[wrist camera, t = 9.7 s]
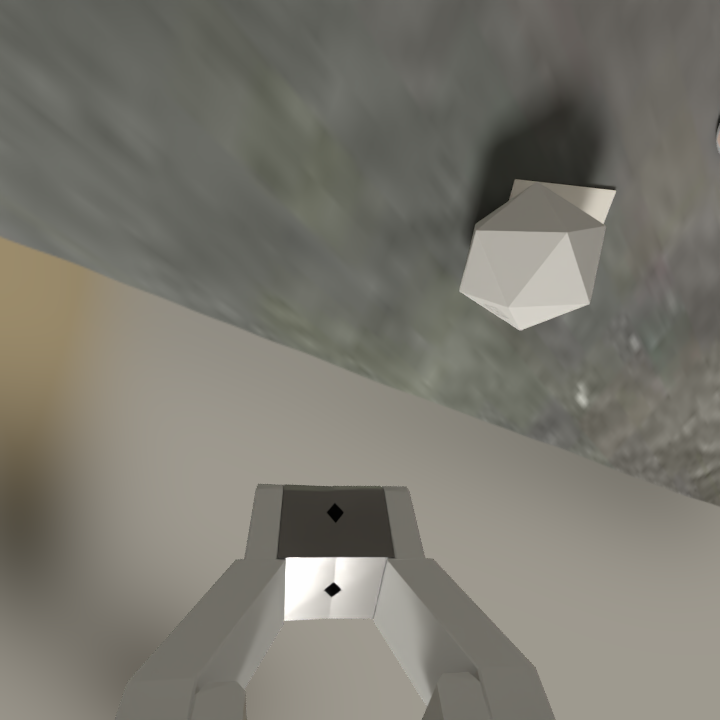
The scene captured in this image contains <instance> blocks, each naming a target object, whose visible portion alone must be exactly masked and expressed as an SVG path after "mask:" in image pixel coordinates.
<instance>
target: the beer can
mask: <svg viewBox="0 0 720 720" xmlns="http://www.w3.org/2000/svg"><path fill="white" fill-rule="evenodd" d="M716 144H717V149H718V152H719V154H720V124H719V126H718V129H717V136H716Z"/></svg>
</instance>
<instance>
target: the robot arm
mask: <svg viewBox="0 0 720 720" xmlns="http://www.w3.org/2000/svg"><path fill="white" fill-rule="evenodd" d="M325 618H326V619H328V618H336V619H338V618H340V619H343V618H344V619H374V623H375V625H376V626H377V628H378V629H379V631H380V633H381V634H382V636H383V637H384V639H385V641H386V642H387V644H388V645H389V647H390V649H391V650H392V652H393V653H394V655H395V657H396V658H397V660H398V662H399V663H400V665H401V666H402V668H403V670H404V671H405V673H406V674H407V676H408V677H409V679H410V681H411V682H412V684H413V685H414V687H415V689H416V690H417V692H418V694H419V695H420V697H421V698H422V700H423V702H424V703H425V704H426V706H427V708H426V711H425V713H424V715H423V718H422V720H555V717H554V714H553V712H552V709H551V707H550V704H549V702H548V699H547V696H546V693H545V691H544V688H543V686H542V683H541V681H540V678H539V675H538V673H537V670H536V667H534V665H533V664H532V663H531V662H530V661H529V660H528V659H527V658H526V657H525V656H524V655H523V654H522V653H521V652H520V650H519V649H518V648H517V647H516V646H515V645H514V644H513V643H512V642H511V641H510V640H509V639H508V638H507V637H506V636H505V635H504V634H503V632H501V630H500V629H499V628H498V627H497V626H496V625H495V624H494V623H493V622H492V621H491V620H490V619H489V618H488V617H487V615H486V614H485V613H484V612H483V611H482V610H481V609H480V608H479V607H478V606H477V605H476V604H475V603H474V602H473V601H472V600H471V598H469V597H468V595H467V594H466V593H465V592H464V591H463V590H462V589H461V588H460V587H459V586H458V585H457V584H456V583H455V582H454V580H453V579H451V577H450V576H449V575H448V574H447V573H446V572H445V571H444V570H443V569H442V568H441V567H440V566H439V565H438V563H437V562H436V561H435V560H434V559H428V558H425V555H424V551H423V547H422V542H421V538H420V535H419V530H418V526H417V521H416V517H415V513H414V509H413V505H412V501H411V497H410V492H409V490H408V488H407V487H391V486H382V487H381V486H333V487H331V486H306V485H272V484H258V486H257V488H256V491H255V498H254V503H253V509H252V516H251V522H250V528H249V534H248V540H247V546H246V552H245V558H244V559H240V560H235V561H234V563H233V564H232V565H231V566H230V567H229V568H228V569H227V570H226V572H225V573H224V574H223V575H222V576H221V577H220V578H219V579H218V581H217V582H216V583H215V584H214V585H213V586H212V587H211V588H210V590H209V591H208V592H207V593H206V594H205V595H204V596H203V597H202V599H201V600H200V601H199V602H198V603H197V604H196V605H195V606H194V608H193V609H192V610H191V611H190V612H189V613H188V614H187V616H186V617H185V618H184V619H183V620H182V621H181V622H180V623H179V625H178V626H177V627H176V628H175V629H174V630H173V631H172V633H171V634H170V635H169V636H168V637H167V638H166V639H165V641H163V643H162V644H161V645H160V646H159V647H158V648H157V649H156V650H155V652H154V653H153V654H152V655H151V656H150V657H149V658H148V659H147V661H146V662H145V663H144V664H143V665H142V666H141V667H140V668H139V670H138V671H137V672H136V673H135V674H134V675H133V676H132V678H131V679H130V680H129V681H128V682H127V685H126V688H125V691H124V694H123V697H122V700H121V703H120V706H119V708H118V711H117V715H116V717H115V720H247V711H246V691H245V690H244V689H245V688H246V686H247V684H248V683H249V681H250V679H251V677H252V676H253V674H254V673H255V671H256V669H257V668H258V666H259V664H260V663H261V661H262V659H263V658H264V656H265V654H266V653H267V651H268V649H269V647H270V646H271V644H272V643H273V641H274V639H275V637H276V636H277V634H278V633H279V631H280V629H281V628H282V626H283V624H284V621H287V620H308V619H325Z"/></svg>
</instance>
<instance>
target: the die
mask: <svg viewBox="0 0 720 720" xmlns="http://www.w3.org/2000/svg"><path fill="white" fill-rule="evenodd" d="M605 229H606V225H604V224H603V223H601V222H599V221H598V220H596V219H595V218H593V217H592V216H590V215H589V214H587V213H586V212H584V211H582V210H581V209H579V208H578V207H576V206H575V205H573V204H572V203H570V202H568V201H567V200H565V199H564V198H562V197H561V196H559V195H558V194H556V193H554V192H553V191H551V190H550V189H548V188H547V187H545V186H544V185H542V184H541V183H539V182H536V183H534V184H533V185H531V186H530V187H528V188H527V189H525V190H524V191H522V192H521V193H520V194H518V195H517V196H515V197H514V198H512V199H511V200H509V201H508V202H506V203H505V204H504V205H502V206H501V207H499V208H498V209H496V210H495V211H493V212H492V213H490V214H489V215H488V216H486V217H485V218H483V219H482V220H480V221H479V222H477V223H476V224H475V228H474V232H473V236H472V240H471V244H470V248H469V252H468V257H467V261H466V265H465V269H464V273H463V277H462V281H461V285H460V290H459V292H461V293H463V294H464V295H466V296H467V297H469V298H470V299H472V300H473V301H475V302H477V303H478V304H480V305H481V306H483V307H484V308H486V309H487V310H489V311H491V312H492V313H494V314H495V315H497V316H498V317H500V318H501V319H503V320H504V321H506V322H508V323H509V324H511V325H512V326H514V327H515V328H517V329H518V330H523V329H525V328H528V327H530V326H533V325H536V324H538V323H541V322H544V321H546V320H549V319H551V318H554V317H557V316H559V315H562V314H565V313H567V312H570V311H572V310H575V309H578V308H580V307H583V306H585V305H588V304H590V301H591V296H592V291H593V287H594V282H595V277H596V272H597V268H598V263H599V258H600V253H601V248H602V244H603V239H604V234H605Z"/></svg>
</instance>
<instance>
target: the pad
mask: <svg viewBox="0 0 720 720" xmlns="http://www.w3.org/2000/svg"><path fill="white" fill-rule="evenodd" d="M536 182H537V181H528V180H519V179H515V180H514V184H513V187H512V191H511V195H510V198H509V200H511V199H512V198H514V197H515V196H517V195H518V194H520V193H521V192H522V191H524V190H525V189H527V188H528V187H530V186H531V185H533V184H534V183H536ZM539 183H541V184H542V185H544V186H545V187H547V188H548V189H550V190H551V191H553V192H554V193H556V194H558V195H559V196H561V197H562V198H564V199H565V200H567V201H568V202H570V203H572V204H573V205H575V206H576V207H578V208H579V209H581V210H582V211H584V212H586V213H587V214H589V215H590V216H592V217H593V218H595V219H596V220H598V221H599V222H601V223H603V224H604V221H605V218H606V216H607V213H608V211H609V208H610V206H611V203H612V200H613V198H614V195H615V193H616V190H608V189H599V188H590V187H581V186H572V185H563V184H554V183H545V182H539Z"/></svg>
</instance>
